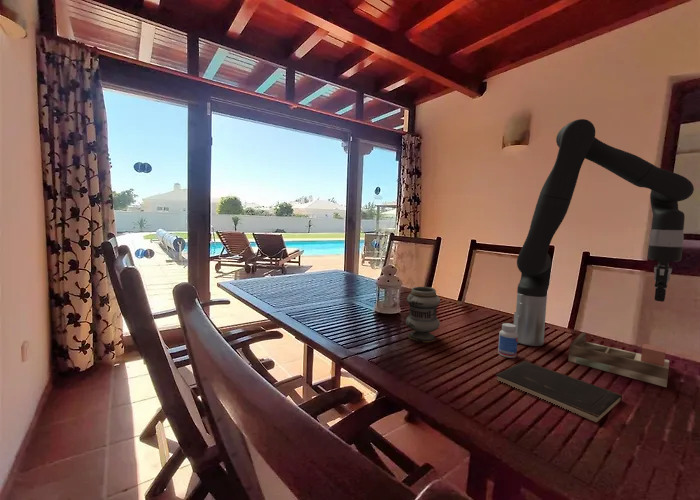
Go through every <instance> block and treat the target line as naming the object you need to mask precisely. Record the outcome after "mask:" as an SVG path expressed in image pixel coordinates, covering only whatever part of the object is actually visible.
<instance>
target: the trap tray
mask: <svg viewBox="0 0 700 500" xmlns="http://www.w3.org/2000/svg"><path fill="white" fill-rule="evenodd" d="M641 354H642V353H639V352H638V353H637V352H633V351H628V350H624V349H620V348H616V347H611V346H606V345H602V344H598V343H594V342H589V341H586V332H583V331H582V332H581V333H580V334H579V335H578V336H577V337H576V338H575V339H574V340H573V341H572V342H571V343H570V344H569V349H568V359H567V361H568V362H570V363H574V364H578V365H581V366H586V367H590V368H593V369H596V370H599V371H600V370H601V371H604V372H607V373H612V374H614V375H615V374H616V375H619V376H621V377H622V376H623V377H627V378H630V379H635V380H637V381H641V382H645V383H649V384H653V385H657V386H660V387H664V388H667V386H668V378H669V369H670V367H669V366H670V360H669V359H665V361H664V366H661V365H656V364H652V363H648V362H644V361H641Z"/></svg>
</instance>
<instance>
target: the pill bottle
mask: <svg viewBox="0 0 700 500" xmlns="http://www.w3.org/2000/svg"><path fill="white" fill-rule="evenodd" d="M515 331H516V325H514V323H508V322H506V323H502V324H501V330H500V331H499V332H498V333H499V334H498V347H497V349H498V350H497V353H498V355H499V356H501V357H504V358H508V359H509V358H511V359H513V358H516V357H517V354H518V344H519V343H518V334H517V333H516V332H515Z"/></svg>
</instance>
